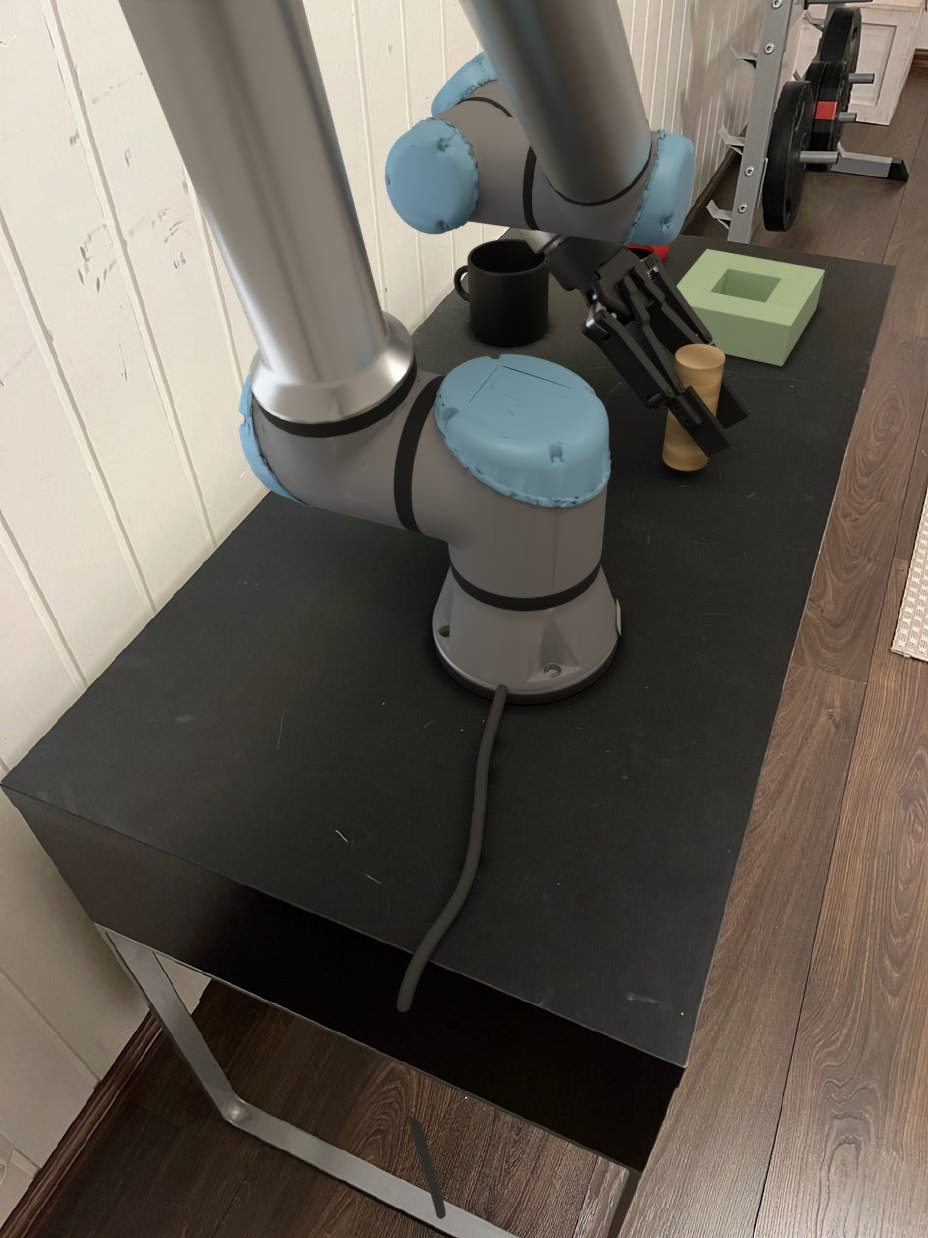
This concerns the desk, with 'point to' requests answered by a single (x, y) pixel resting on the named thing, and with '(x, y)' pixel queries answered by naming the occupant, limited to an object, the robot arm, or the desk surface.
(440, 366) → the desk surface
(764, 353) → the holder
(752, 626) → the desk surface
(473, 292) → the mug
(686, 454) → the tan cylinder
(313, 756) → the desk surface
